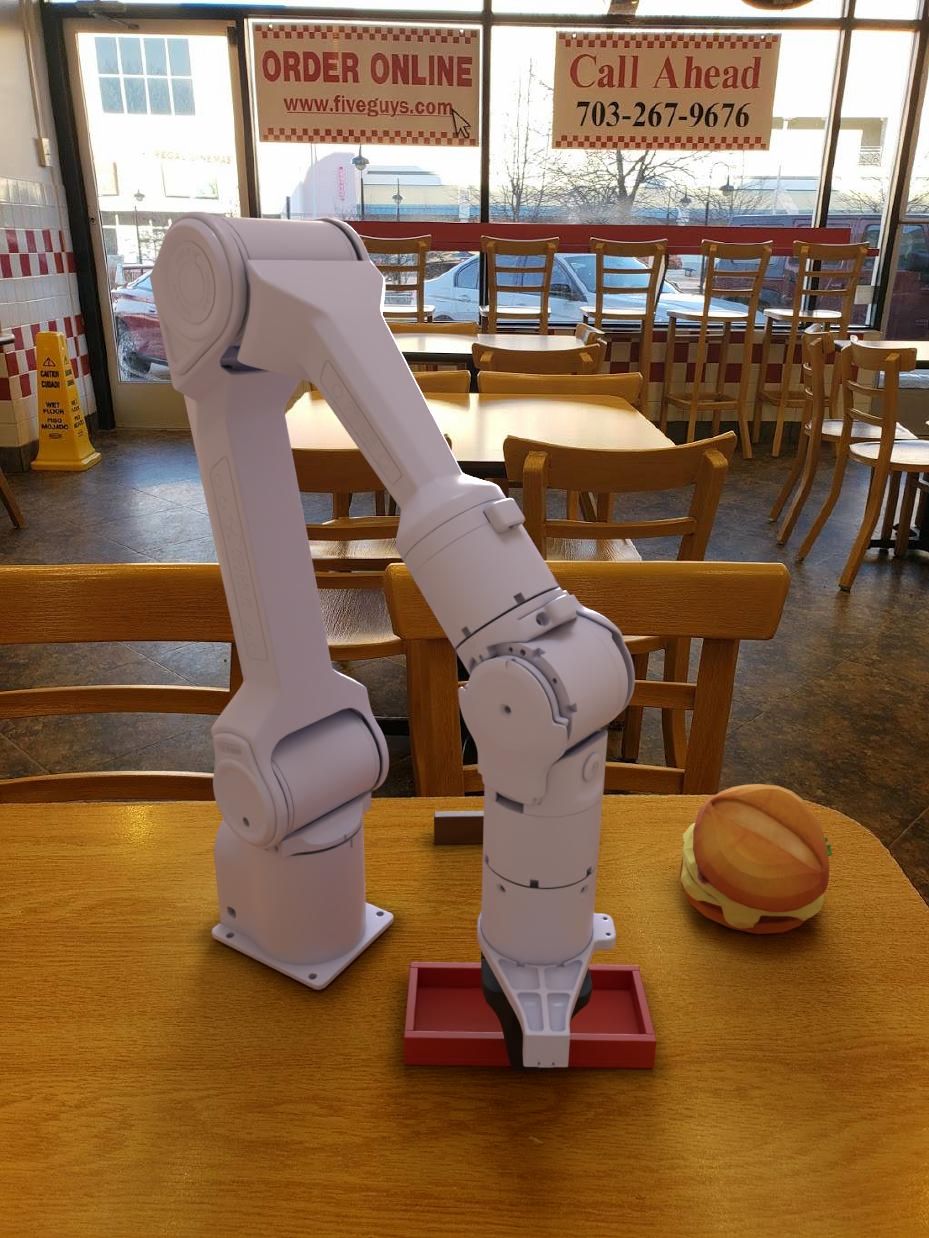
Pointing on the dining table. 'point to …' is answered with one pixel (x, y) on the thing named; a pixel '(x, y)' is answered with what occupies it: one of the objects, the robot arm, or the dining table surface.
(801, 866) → the cheeseburger
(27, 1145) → the dining table surface
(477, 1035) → the tray
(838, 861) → the dining table surface
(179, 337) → the robot arm
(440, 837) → the back rail
